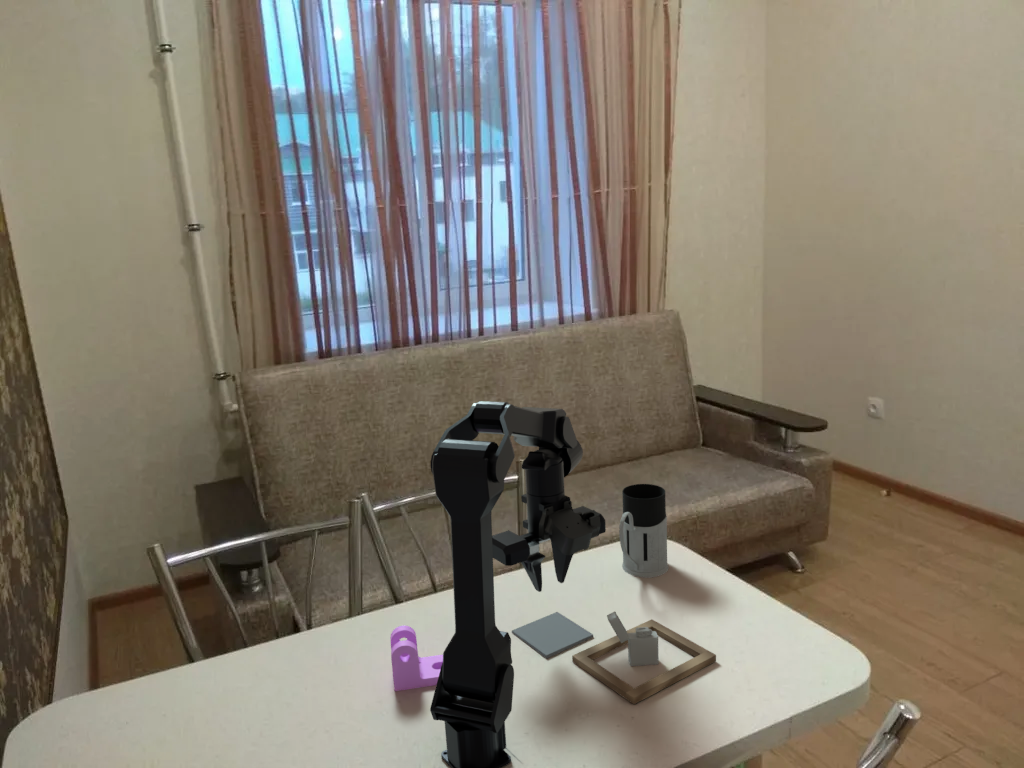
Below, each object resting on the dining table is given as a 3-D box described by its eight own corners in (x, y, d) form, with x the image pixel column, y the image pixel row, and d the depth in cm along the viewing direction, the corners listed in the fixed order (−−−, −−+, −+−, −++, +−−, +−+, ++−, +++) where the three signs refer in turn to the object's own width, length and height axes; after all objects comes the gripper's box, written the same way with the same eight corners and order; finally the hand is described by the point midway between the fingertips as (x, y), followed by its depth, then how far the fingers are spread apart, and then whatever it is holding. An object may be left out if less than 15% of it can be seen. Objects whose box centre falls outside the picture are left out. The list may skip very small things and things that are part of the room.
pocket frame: (633, 704, 106) (633, 697, 106) (572, 661, 117) (572, 655, 117) (716, 661, 115) (716, 654, 115) (652, 625, 125) (651, 619, 125)
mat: (546, 658, 118) (546, 655, 118) (511, 633, 125) (511, 630, 125) (593, 637, 123) (593, 634, 123) (557, 615, 130) (557, 611, 130)
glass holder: (677, 564, 145) (676, 486, 142) (646, 598, 134) (645, 514, 130) (632, 555, 150) (630, 479, 147) (599, 587, 138) (596, 506, 135)
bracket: (394, 692, 112) (390, 647, 111) (393, 670, 118) (389, 627, 116) (486, 678, 114) (483, 634, 113) (480, 657, 120) (478, 615, 118)
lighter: (656, 657, 117) (655, 607, 115) (658, 664, 115) (658, 613, 113) (607, 660, 117) (606, 611, 115) (609, 667, 115) (608, 617, 113)
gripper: (525, 522, 107) (531, 628, 110) (629, 489, 117) (631, 586, 121) (481, 500, 116) (487, 598, 119) (580, 470, 126) (584, 561, 130)
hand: (549, 586), depth 122 cm, fingers open, 4 cm apart
